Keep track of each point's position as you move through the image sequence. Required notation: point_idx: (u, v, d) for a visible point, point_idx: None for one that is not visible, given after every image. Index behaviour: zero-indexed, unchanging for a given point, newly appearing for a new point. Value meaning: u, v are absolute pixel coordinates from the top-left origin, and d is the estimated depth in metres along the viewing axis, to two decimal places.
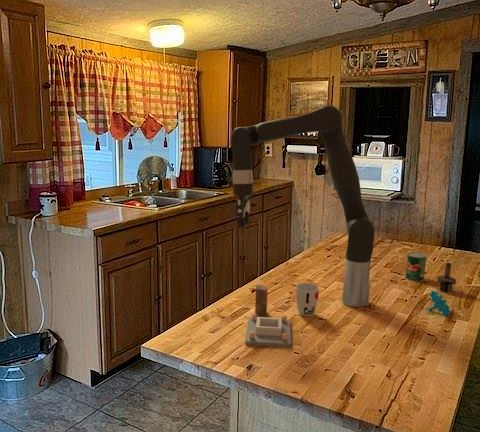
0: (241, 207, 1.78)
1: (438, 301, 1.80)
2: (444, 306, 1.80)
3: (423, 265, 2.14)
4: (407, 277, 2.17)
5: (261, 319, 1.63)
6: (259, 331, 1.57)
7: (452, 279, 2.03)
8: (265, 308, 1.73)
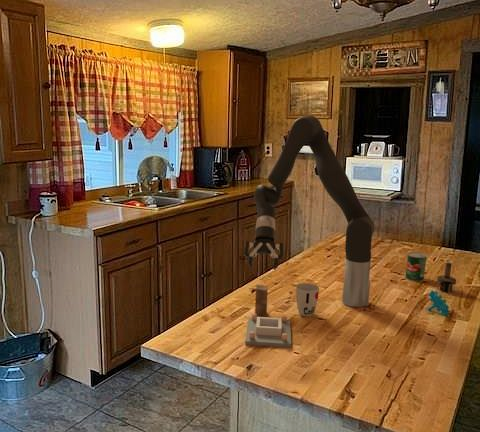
0: None
1: (437, 301, 1.80)
2: (443, 306, 1.81)
3: (423, 265, 2.14)
4: (407, 277, 2.17)
5: (261, 319, 1.63)
6: (259, 331, 1.57)
7: (452, 279, 2.03)
8: (265, 308, 1.73)
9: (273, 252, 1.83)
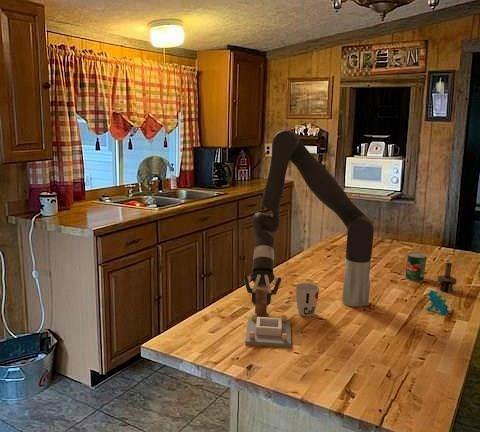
0: (245, 283, 1.76)
1: (436, 300, 1.80)
2: (442, 306, 1.81)
3: (423, 265, 2.14)
4: (407, 277, 2.17)
5: (261, 319, 1.63)
6: (259, 331, 1.57)
7: (452, 279, 2.04)
8: (265, 308, 1.73)
9: (268, 286, 1.75)
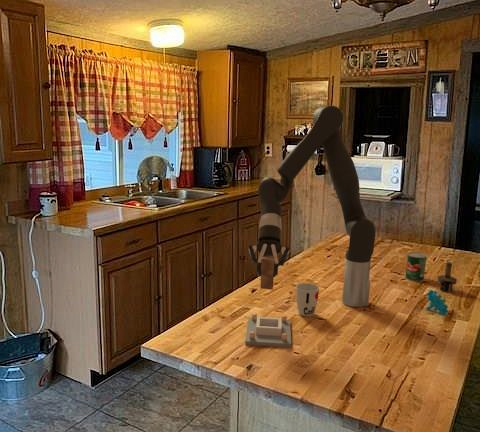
0: (250, 253, 1.62)
1: (435, 300, 1.81)
2: (441, 305, 1.81)
3: (423, 265, 2.14)
4: (407, 277, 2.17)
5: (261, 319, 1.63)
6: (259, 331, 1.57)
7: (453, 279, 2.04)
8: (271, 280, 1.59)
9: (275, 256, 1.61)
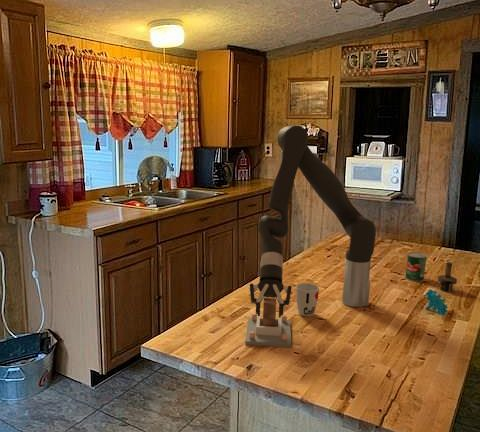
0: (250, 291, 1.61)
1: (434, 300, 1.81)
2: (440, 305, 1.81)
3: (423, 265, 2.14)
4: (407, 277, 2.17)
5: (261, 319, 1.63)
6: (259, 331, 1.57)
7: (453, 278, 2.04)
8: (273, 323, 1.58)
9: (279, 296, 1.59)
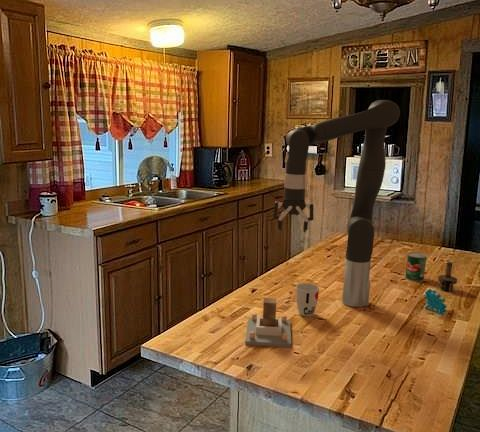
0: (274, 209, 1.78)
1: (433, 299, 1.82)
2: (439, 305, 1.82)
3: (423, 265, 2.14)
4: (407, 277, 2.17)
5: (261, 319, 1.63)
6: (259, 331, 1.57)
7: (453, 278, 2.04)
8: (273, 323, 1.58)
9: (303, 216, 1.77)
